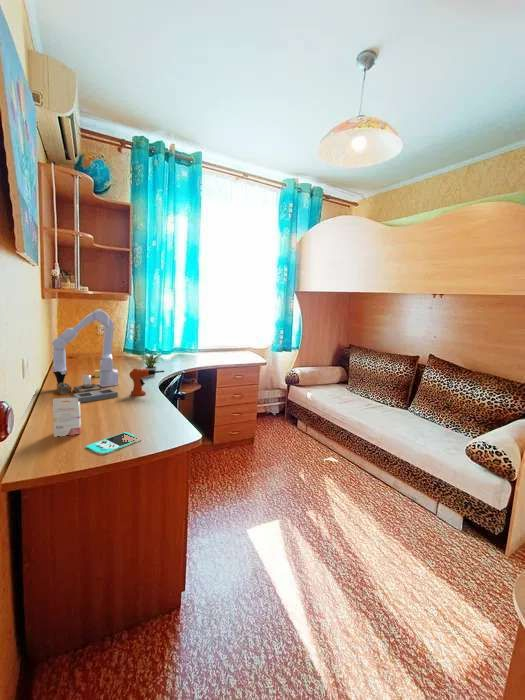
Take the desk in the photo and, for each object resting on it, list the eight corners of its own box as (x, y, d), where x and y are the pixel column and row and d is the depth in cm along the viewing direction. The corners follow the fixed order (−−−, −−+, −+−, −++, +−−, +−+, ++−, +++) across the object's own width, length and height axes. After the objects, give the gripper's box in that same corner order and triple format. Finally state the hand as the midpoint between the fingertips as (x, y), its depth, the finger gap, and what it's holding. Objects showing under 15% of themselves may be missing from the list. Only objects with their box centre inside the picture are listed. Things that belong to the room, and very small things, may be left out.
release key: (63, 386, 174) (63, 382, 174) (68, 390, 168) (68, 385, 168) (58, 387, 172) (58, 382, 172) (62, 390, 167) (62, 386, 166)
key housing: (65, 389, 174) (65, 382, 174) (71, 393, 168) (71, 386, 167) (56, 390, 171) (56, 383, 171) (62, 394, 165) (61, 388, 164)
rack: (111, 392, 173) (111, 388, 172) (117, 396, 167) (117, 392, 167) (73, 398, 160) (73, 394, 159) (79, 403, 154) (78, 398, 154)
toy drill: (166, 393, 173) (163, 366, 170) (130, 397, 170) (126, 370, 168) (167, 391, 178) (164, 365, 175) (132, 394, 175) (128, 368, 172)
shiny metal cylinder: (90, 390, 175) (89, 374, 174) (92, 392, 172) (92, 375, 171) (82, 391, 172) (81, 375, 171) (84, 393, 169) (84, 376, 168)
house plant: (165, 378, 211) (166, 354, 208) (144, 380, 203) (144, 354, 200) (159, 373, 222) (159, 350, 220) (138, 375, 215) (138, 351, 212)
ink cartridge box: (81, 429, 125) (80, 393, 123) (79, 434, 121) (79, 397, 118) (55, 432, 122) (54, 395, 119) (53, 437, 117) (51, 399, 115)
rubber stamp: (111, 374, 211) (111, 357, 209) (111, 376, 206) (111, 358, 204) (94, 375, 206) (94, 357, 205) (94, 377, 201) (94, 359, 200)
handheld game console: (84, 448, 111) (84, 445, 111) (125, 434, 125) (125, 431, 125) (101, 457, 106) (101, 453, 106) (142, 441, 120) (142, 438, 119)
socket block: (94, 388, 179) (94, 383, 179) (100, 392, 172) (100, 388, 172) (73, 390, 172) (73, 386, 172) (80, 395, 165) (80, 390, 165)
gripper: (47, 358, 174) (48, 382, 176) (54, 363, 164) (55, 388, 166) (62, 357, 179) (62, 380, 181) (70, 362, 169) (70, 386, 171)
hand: (60, 384), depth 174 cm, fingers closed
